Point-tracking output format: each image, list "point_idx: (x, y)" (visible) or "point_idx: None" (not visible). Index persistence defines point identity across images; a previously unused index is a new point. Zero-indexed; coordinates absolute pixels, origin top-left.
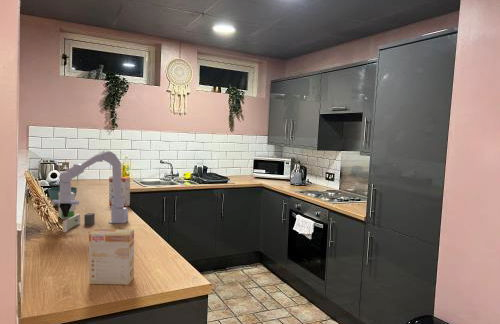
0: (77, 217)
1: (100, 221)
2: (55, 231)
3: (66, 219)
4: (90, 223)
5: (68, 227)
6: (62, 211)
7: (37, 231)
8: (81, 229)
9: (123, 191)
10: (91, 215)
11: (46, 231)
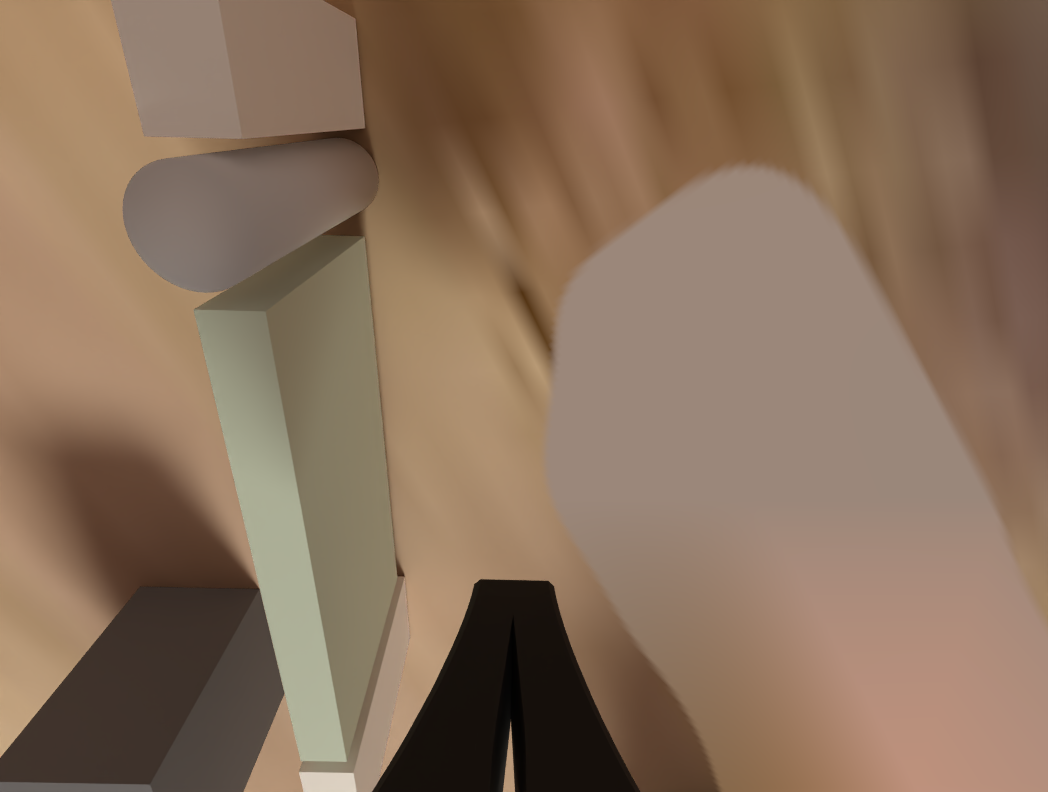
0: None
1: None
2: (583, 85)
3: (168, 176)
4: (128, 613)
5: (315, 246)
6: (591, 742)
7: (1036, 32)
8: (102, 319)
9: None
10: (4, 787)
11: (806, 59)
